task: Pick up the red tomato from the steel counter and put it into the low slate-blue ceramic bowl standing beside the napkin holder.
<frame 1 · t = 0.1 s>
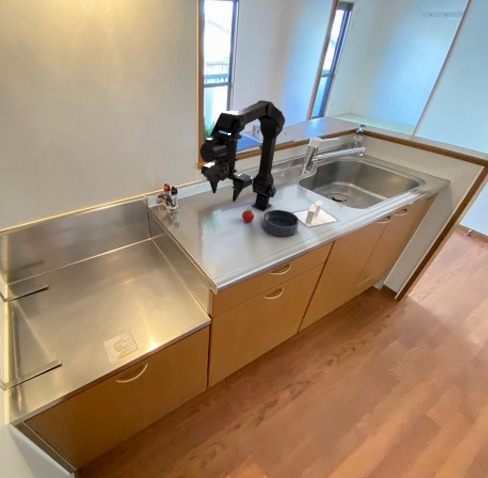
hand: (223, 197, 98), 15 cm above the counter, tool pointing down, fingers open, 9 cm apart
napkin holder: (313, 217, 116), on the counter
tomato: (247, 220, 113), on the counter
bowl: (279, 227, 109), on the counter
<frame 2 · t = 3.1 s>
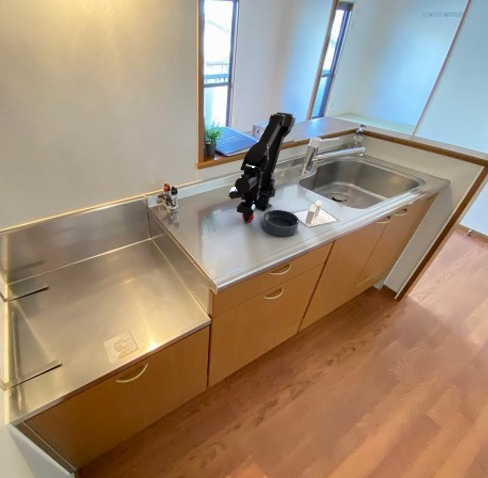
hand: (247, 218, 112), 1 cm above the counter, tool pointing down, fingers closed on tomato, 5 cm apart
tomato: (247, 220, 113), on the counter, touching gripper
everything else where it was.
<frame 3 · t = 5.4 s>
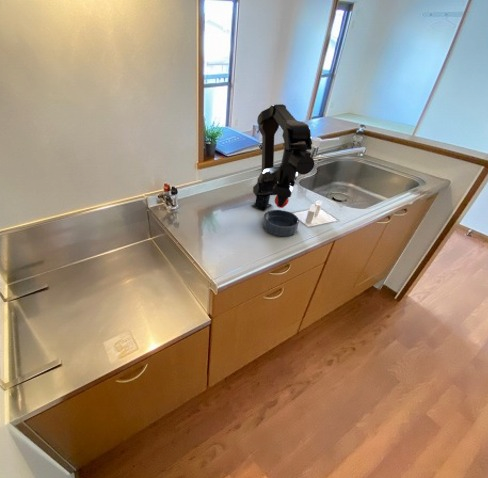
hand: (281, 203, 103), 11 cm above the counter, tool pointing down, fingers closed on tomato, 5 cm apart
tomato: (280, 206, 104), point 10 cm above the counter, touching gripper
everything else where it was.
when the fingers open (2 cm above the counter, at t = 8.2 s): tomato stays where it is, resting on bowl.
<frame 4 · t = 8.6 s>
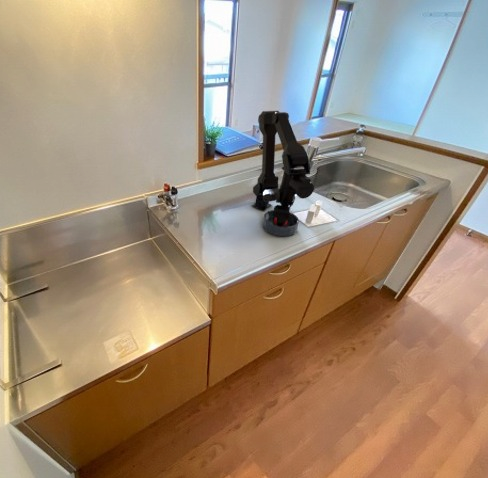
hand: (280, 222, 107), 3 cm above the counter, tool pointing down, fingers open, 9 cm apart
tomato: (279, 226, 109), resting on bowl
everything else where it was.
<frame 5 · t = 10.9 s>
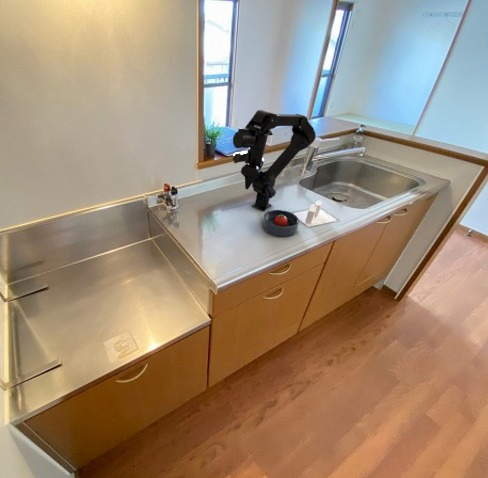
hand: (248, 185, 112), 12 cm above the counter, tool pointing down, fingers open, 9 cm apart
nothing on the counter moved.
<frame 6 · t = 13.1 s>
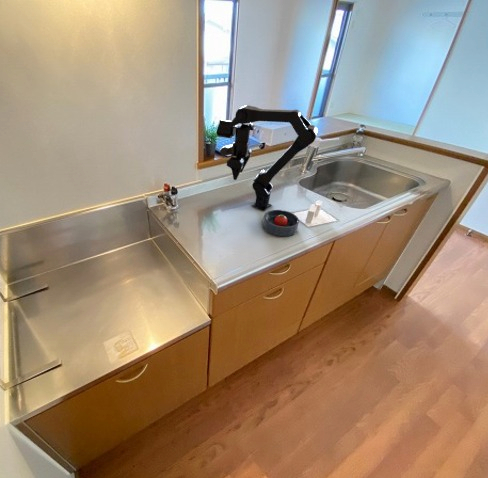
hand: (237, 175, 121), 12 cm above the counter, tool pointing down, fingers open, 9 cm apart
nothing on the counter moved.
at the end: tomato inside the target area in the bowl (0.0 cm from its centre), point 0.5 cm above the bowl's base; the gripper is holding nothing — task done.
